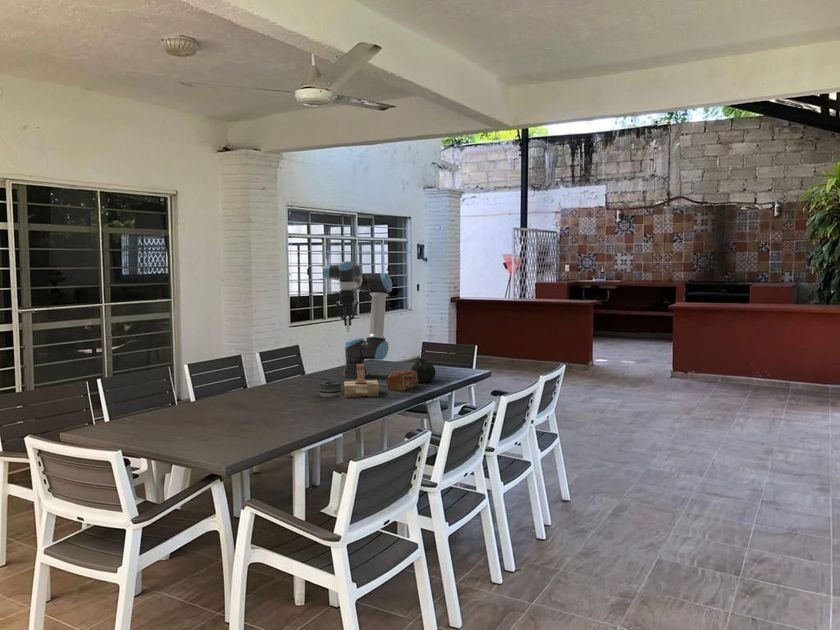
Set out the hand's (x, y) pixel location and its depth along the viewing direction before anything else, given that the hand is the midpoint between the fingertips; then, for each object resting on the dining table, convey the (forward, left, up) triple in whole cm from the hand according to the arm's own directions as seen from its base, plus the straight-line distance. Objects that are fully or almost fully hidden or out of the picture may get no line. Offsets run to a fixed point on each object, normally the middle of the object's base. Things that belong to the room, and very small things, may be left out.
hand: (348, 331), depth 366 cm
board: (+16, +6, -32) cm, 37 cm away
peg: (+16, +6, -30) cm, 35 cm away
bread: (+4, +30, -33) cm, 44 cm away
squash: (-11, +43, -33) cm, 55 cm away
